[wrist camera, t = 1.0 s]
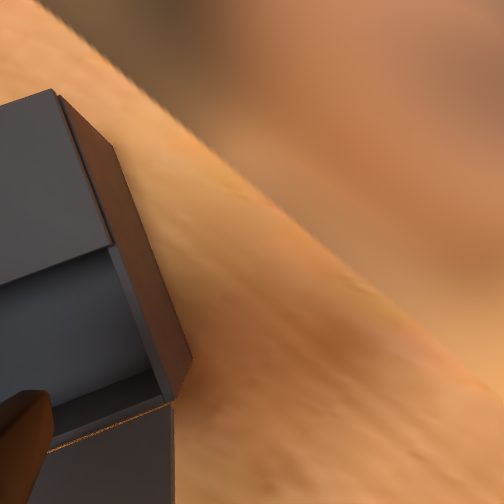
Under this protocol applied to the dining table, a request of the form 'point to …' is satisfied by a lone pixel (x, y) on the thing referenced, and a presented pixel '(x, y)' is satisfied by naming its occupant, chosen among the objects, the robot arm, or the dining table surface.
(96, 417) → the carton
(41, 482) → the flap
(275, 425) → the dining table surface
